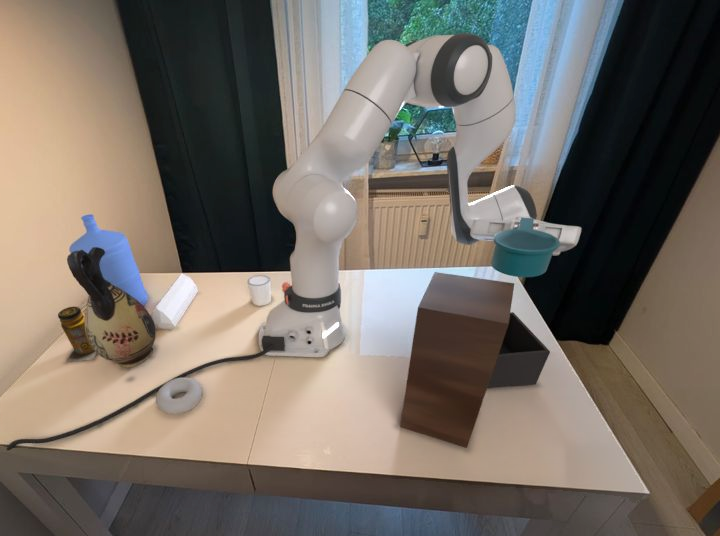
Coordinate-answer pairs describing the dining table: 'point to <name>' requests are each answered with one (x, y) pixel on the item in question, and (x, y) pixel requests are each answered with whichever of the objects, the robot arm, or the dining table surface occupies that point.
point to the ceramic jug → (112, 314)
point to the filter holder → (523, 250)
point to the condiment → (76, 334)
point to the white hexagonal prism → (174, 303)
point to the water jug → (113, 258)
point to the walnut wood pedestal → (454, 354)
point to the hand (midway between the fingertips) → (525, 226)
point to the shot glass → (260, 289)
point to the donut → (182, 403)
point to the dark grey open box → (518, 357)
